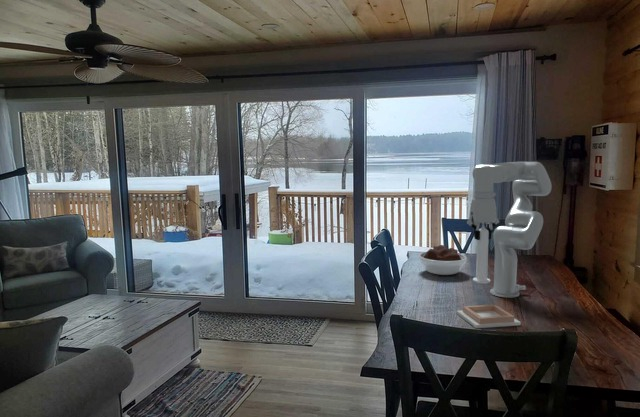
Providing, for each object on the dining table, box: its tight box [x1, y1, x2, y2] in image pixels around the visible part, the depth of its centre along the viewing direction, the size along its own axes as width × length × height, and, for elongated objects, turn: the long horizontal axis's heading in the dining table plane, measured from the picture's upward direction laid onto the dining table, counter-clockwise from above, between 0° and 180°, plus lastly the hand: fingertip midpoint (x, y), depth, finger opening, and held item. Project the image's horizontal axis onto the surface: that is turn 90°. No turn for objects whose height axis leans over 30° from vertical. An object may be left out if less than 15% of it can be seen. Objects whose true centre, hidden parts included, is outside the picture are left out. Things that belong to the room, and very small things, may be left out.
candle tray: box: [456, 304, 522, 329], centre depth 177 cm, size 18×16×3 cm
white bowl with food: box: [418, 244, 468, 276], centre depth 245 cm, size 25×25×15 cm
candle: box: [472, 223, 491, 284], centre depth 190 cm, size 7×7×25 cm
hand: (482, 238), depth 190 cm, fingers closed on candle, 4 cm apart
